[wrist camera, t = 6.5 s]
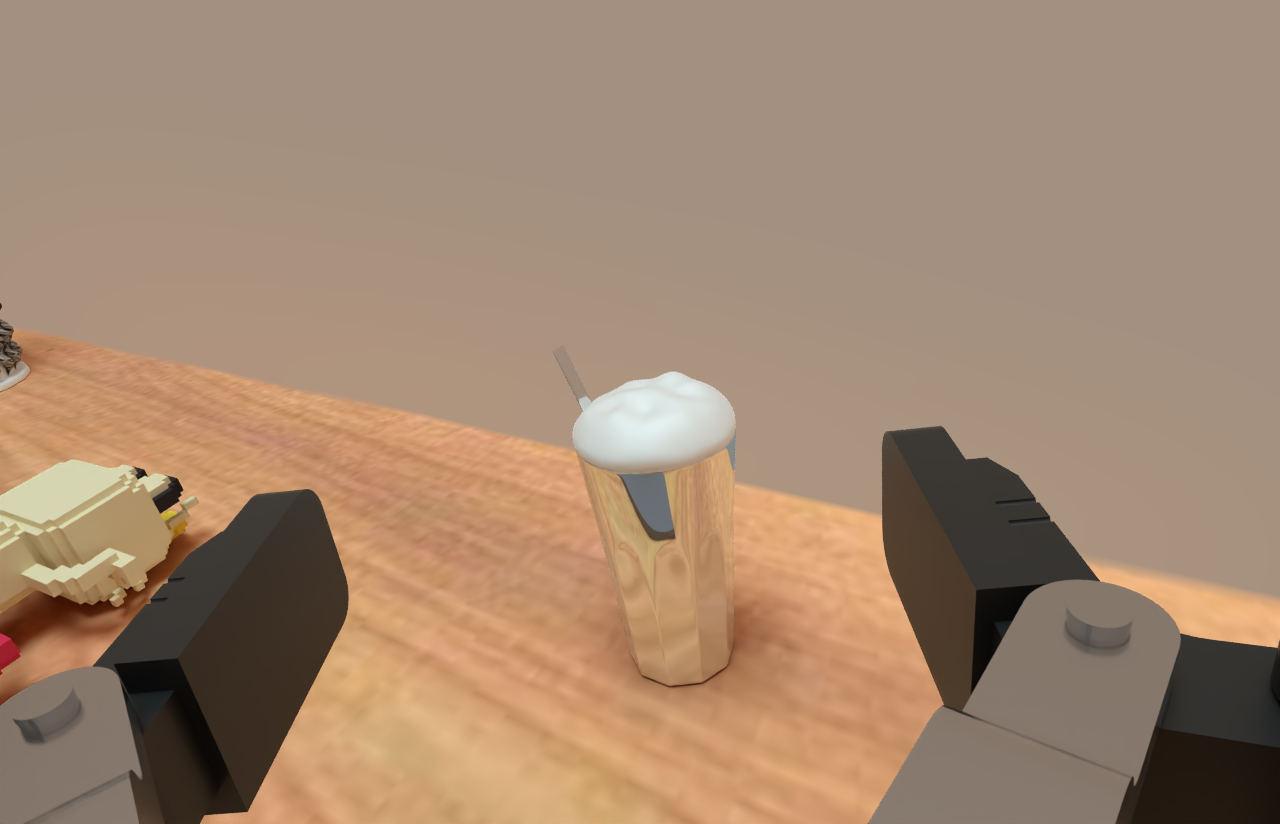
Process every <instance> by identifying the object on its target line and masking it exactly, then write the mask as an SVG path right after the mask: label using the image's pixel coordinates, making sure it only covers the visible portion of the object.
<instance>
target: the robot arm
mask: <svg viewBox="0 0 1280 824" xmlns="http://www.w3.org/2000/svg"><path fill="white" fill-rule="evenodd" d="M882 528H883V542H884V550H885V556H886V560H887V565H888V568H889V572H890V575H891V577H892V580H893V582H894V584H895V587H896V589H897V592H898V594H899V597H900V599H901V601H902V604H903V606H904V609H905V611H906V613H907V616H908V618H909V621H910V623H911V626H912V628H913V630H914V633H915V635H916V638H917V640H918V642H919V645H920V647H921V650H922V652H923V655H924V657H925V659H926V662H927V664H928V667H929V669H930V672H931V674H932V676H933V679H934V681H935V684H936V686H937V688H938V691H939V693H940V696H941V698H942V701H943V703H944V705H943V706H941V707H940V708H939V709H937V711H936V712H935V713H934V714H933V716H932V717H931V719H930V720H929V722H928V723H927V725H926V727H925V728H924V730H923V732H922V733H921V735H920V737H919V739H918V740H917V742H916V744H915V745H914V747H913V749H912V750H911V752H910V754H909V755H908V757H907V759H906V760H905V762H904V764H903V765H902V767H901V769H900V771H899V772H898V774H897V776H896V777H895V779H894V781H893V782H892V784H891V786H890V787H889V789H888V791H887V792H886V794H885V796H884V797H883V799H882V801H881V803H880V804H879V806H878V808H877V809H876V811H875V813H874V814H873V816H872V818H871V819H870V821H869V823H868V824H1280V641H1279V645H1278V648H1274V647H1266V646H1258V645H1250V644H1242V643H1234V642H1226V641H1218V640H1210V639H1204V638H1198V637H1193V636H1189V635H1184V634H1180V632H1179V629H1178V627H1177V625H1176V623H1175V621H1174V620H1173V619H1172V618H1171V616H1170V615H1169V614H1168V613H1167V612H1166V611H1165V610H1164V609H1163V608H1162V607H1160V606H1159V605H1158V604H1156V603H1155V602H1153V601H1152V600H1150V599H1148V598H1147V597H1145V596H1143V595H1141V594H1139V593H1137V592H1134V591H1132V590H1129V589H1127V588H1124V587H1121V586H1117V585H1114V584H1109V583H1105V582H1100V580H1099V579H1098V578H1097V577H1096V575H1095V574H1094V573H1093V571H1092V570H1091V569H1090V568H1089V566H1088V565H1087V564H1086V562H1085V561H1084V560H1083V559H1082V557H1081V556H1080V555H1079V553H1078V552H1077V551H1076V549H1075V548H1074V547H1073V546H1072V544H1071V543H1070V542H1069V540H1068V539H1067V538H1066V537H1065V535H1064V534H1063V533H1062V532H1061V530H1060V529H1059V528H1058V526H1057V525H1056V524H1055V522H1051V521H1050V516H1049V515H1048V513H1047V512H1046V511H1045V510H1044V508H1043V507H1042V506H1041V504H1040V503H1038V502H1037V503H1036V500H1035V497H1034V495H1033V494H1032V493H1031V491H1030V490H1029V489H1028V488H1027V486H1026V485H1025V484H1024V482H1023V481H1022V480H1021V479H1020V477H1019V476H1018V475H1016V474H1015V473H1013V472H1011V471H1009V470H1008V469H1006V468H1004V467H1002V466H1001V465H999V464H997V463H995V462H994V461H992V460H990V459H989V458H977V459H967V460H966V459H965V458H964V456H963V455H962V453H961V452H960V451H959V449H958V448H957V446H956V445H955V443H954V442H953V440H952V439H951V438H950V436H949V435H948V433H947V432H946V430H945V429H944V428H943V427H941V426H937V427H927V428H917V429H907V430H897V431H888V432H885V434H884V437H883V443H882ZM348 598H349V597H348V585H347V580H346V576H345V573H344V570H343V567H342V564H341V561H340V558H339V555H338V552H337V549H336V546H335V543H334V540H333V537H332V534H331V531H330V528H329V525H328V522H327V519H326V516H325V512H324V509H323V506H322V504H321V501H320V499H319V498H318V496H317V495H316V494H315V493H314V492H313V491H312V490H309V489H305V490H295V491H285V492H275V493H265V494H257V495H255V496H253V497H252V498H251V499H250V500H249V501H248V503H247V504H246V505H245V506H244V507H243V509H242V510H241V511H240V512H239V513H238V515H237V516H236V517H235V518H234V519H233V521H232V522H231V523H230V524H229V525H228V527H227V528H226V529H225V530H224V532H220V533H219V534H217V535H216V536H214V537H213V538H212V539H210V540H209V541H207V542H206V543H204V544H203V545H202V546H200V547H199V548H197V549H196V550H194V551H193V552H192V553H190V554H189V555H188V556H187V557H186V558H185V559H184V561H183V562H182V563H181V564H180V565H179V566H178V568H177V569H176V570H175V571H174V572H173V573H172V575H171V576H170V577H169V578H168V583H166V584H163V585H162V586H161V587H160V589H159V590H158V591H157V592H156V593H155V594H154V595H153V597H152V598H151V599H150V600H151V603H150V604H146V605H145V606H144V607H143V608H142V609H141V611H140V612H139V613H138V614H137V615H136V616H135V618H134V619H133V620H132V621H131V622H130V623H129V625H128V626H127V627H126V628H125V629H124V630H123V632H122V633H121V634H120V635H119V636H118V637H117V639H116V640H115V641H114V642H113V643H112V644H111V646H110V647H109V648H108V649H107V650H106V651H105V652H104V654H103V655H102V656H101V657H100V658H99V659H98V661H97V662H96V663H95V664H94V665H93V666H92V667H83V668H77V669H72V670H68V671H65V672H61V673H58V674H55V675H53V676H50V677H48V678H45V679H43V680H41V681H39V682H37V683H35V684H33V685H31V686H29V687H27V688H25V689H24V690H22V691H20V692H19V693H17V694H16V695H14V696H13V697H11V698H9V699H8V700H7V701H6V702H4V703H3V704H2V705H0V824H200V822H201V820H202V819H203V817H204V815H212V814H226V813H239V812H248V810H249V808H250V806H251V804H252V802H253V800H254V798H255V796H256V794H257V792H258V790H259V788H260V786H261V784H262V782H263V780H264V778H265V777H266V775H267V773H268V771H269V769H270V767H271V765H272V763H273V761H274V759H275V757H276V755H277V753H278V751H279V749H280V747H281V745H282V743H283V741H284V739H285V737H286V735H287V733H288V731H289V730H290V728H291V726H292V724H293V722H294V720H295V718H296V716H297V714H298V712H299V710H300V708H301V706H302V704H303V702H304V700H305V698H306V696H307V694H308V692H309V690H310V688H311V686H312V684H313V683H314V681H315V679H316V677H317V675H318V673H319V671H320V669H321V667H322V665H323V663H324V661H325V659H326V657H327V655H328V653H329V651H330V649H331V647H332V645H333V643H334V641H335V639H336V638H337V636H338V634H339V632H340V630H341V628H342V626H343V624H344V621H345V619H346V615H347V610H348Z"/></svg>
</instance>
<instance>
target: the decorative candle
mask: <svg viewBox="0 0 1280 824" xmlns="http://www.w3.org/2000/svg"><path fill="white" fill-rule="evenodd" d="M1 308H2V305H1V303H0V309H1ZM13 332H14V330H13V328H12V326H10V325H9V324H8V323H7V322H5V321H3V320H0V392H1V391H4V390H6V389H8V388H10V387H12V386H14V385H15V384H17V383H19V382H20V381H22V380H24V379H25V378H26V377H27V376H28V374H29V373H30V372H31V371H30V369H29V367H28V366H27V365H26V364H25V363H24V362H19V360H20V358H21V353H22V351H23V350H22V348H21V347H20V346H18V344H17V343H16V342H14V341H11V338H12V334H13Z"/></svg>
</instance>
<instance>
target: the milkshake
mask: <svg viewBox="0 0 1280 824" xmlns="http://www.w3.org/2000/svg"><path fill="white" fill-rule="evenodd" d="M553 353H554V355H555V357H556V359H557V361H558V363H559V365H560V367H561V369H562V371H563V373H564V375H565V377H566V379H567V381H568V383H569V385H570V387H571V389H572V391H573V392H574V395H575V397H576V399H577V401H578V403H579V405H580V407H581V409H582V411H583V413H582V414H581V415H580V416H579V418H578V419H577V421H576V422H575V425H574V427H573V434H572V437H573V444H574V447H575V450H576V454H577V457H578V461H579V464H580V468H581V471H582V475H583V478H584V481H585V485H586V488H587V492H588V495H589V498H590V502H591V505H592V509H593V512H594V515H595V519H596V522H597V525H598V529H599V532H600V536H601V540H602V544H603V548H604V551H605V555H606V559H607V563H608V567H609V571H610V575H611V579H612V583H613V587H614V591H615V594H616V598H617V602H618V606H619V610H620V614H621V618H622V622H623V626H624V630H625V634H626V638H627V641H628V645H629V649H630V652H631V655H632V657H633V659H634V661H635V663H636V664H637V666H638V668H639V670H640V672H641V674H642V675H643V676H645V677H648V678H651V679H653V680H656V681H658V682H661V683H663V684H665V685H668V686H675V685H684V684H693V683H702V682H704V681H705V680H707V679H708V678H710V677H711V676H713V675H714V674H716V673H717V672H719V671H720V670H722V669H723V668H725V667H726V666H727V665H728V661H729V658H730V654H731V651H732V647H733V644H734V520H733V512H734V474H735V441H736V419H735V414H734V411H733V409H732V406H731V405H730V403H729V402H728V400H727V399H726V398H725V397H724V395H723V394H721V393H720V392H719V391H718V390H716V389H715V388H713V387H712V386H710V385H708V384H705V383H703V382H700V381H697V380H694V379H692V378H689V377H687V376H686V375H684V374H681V373H679V372H668V373H665V374H663V375H661V376H659V377H656V378H653V379H647V380H634V381H630V382H627V383H625V384H624V385H622V386H620V387H618V388H617V389H615V390H613V391H611V392H609V393H606V394H604V395H602V396H600V397H598V398H597V399H595V400H594V401H593V402H591V400H590V398H589V396H588V394H587V392H586V390H585V388H584V386H583V384H582V382H581V380H580V378H579V376H578V374H577V372H576V370H575V368H574V366H573V364H572V362H571V360H570V358H569V356H568V354H567V352H566V350H565V348H564V347H563V346H560V347H559V348H557V349H555V350H554V351H553Z"/></svg>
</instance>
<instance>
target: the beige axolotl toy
mask: <svg viewBox="0 0 1280 824" xmlns="http://www.w3.org/2000/svg"><path fill="white" fill-rule="evenodd" d="M182 491H183V488H182V486H181V484H180V482H179V480H178V479H177V478H174V477H170V476H167V475H161V474H157V473H154V474H153V475H151V476H150V477H148V476H147V474H146V472H145V470H144V469H140V468H136V467H133V466H132V467H131V466H127V465H121V466H119V467H118V468H113V467H112V468H110V469H109V468H106V467H102V466H98V465H95V464H91V463H87V462H84V461H77V460H74V459H71V460H69V461H67V462H65V463H63V462H60V463H58V464H56V465H54V466H52V467H51V468H49V469H47V470H45V471H43V472H42V473H40V474H38V475H36V476H35V477H33V478H31V479H29V480H27V481H26V482H24V483H22V484H20V485H18V486H17V487H15V488H13V489H11V490H9V491H8V492H6V493H4V494H2V495H0V614H1V613H2V612H4V611H5V610H7V609H8V608H10V607H12V606H13V605H15V604H16V603H18V602H19V601H21V600H22V599H24V598H25V597H27V596H28V595H30V594H31V593H33V592H34V591H36V590H39V591H41V592H43V593H46V594H48V595H50V596H53V597H56V596H58V595H60V596H62V597H65V598H67V599H69V600H72V601H74V602H76V603H79V604H83V603H84V602H86V603H88V604H91V605H93V604H95V603H96V602H98V601H99V600H101V601H103V602H104V601H106V600H107V599H109V598H110V597H112V598H110V599H109V600H110V602H111V604H112V605H113V606H115V607H118V606H120V605H121V604H122V603H124V601H123V599H122V598H124V597H125V596H127V594H126V592H125V591H124V589H123V588H125V589H128V588H130V587H131V586H132V587H133V589H134V590H135V591H138V592H139V591H140V590H142V589H143V588H145V587H146V586H145V585H144V583H145V582H146V581H148V579H147V575H146V572H147V571H148V570H150V569H151V568H153V567H154V566H155V565H157V564H158V563H160V562H161V561H163V560H164V559H165V558H166V557H165V555H166V554H167V553H168V550H167V549H168V548H169V546H168V545H169V544H170V543H171V542H172V541H171V540H172V539H174V538H175V537H177V536H178V535H180V534H181V533H183V532H184V531H185V528H184V527H185V526H187V523H186V521H185V519H187V518H188V517H190V515H189V513H188V512H187V510H189V509H190V508H192V507H193V506H195V505H196V504H198V503H199V502H198V500H197V498H196V497H194V496H191V497H190V498H188V499H187V500H185V501H184V502H182V503H180V505H181V507H182V509H183V510H181V511H180V512H178V513H177V512H174V511H170V510H169V511H168V512H166V513H165V514H161V513H162V512H163V511H165V510H167V509H168V508H170V507H171V506H173V505H174V504H176V503H177V502H179V499H178V498H179V497H180V496H182V495H181V493H180V492H182ZM19 653H20V651H19V649H18V648H17V646H16V645H15V644H14V642H13V641H12V639H11V638H9V637H7V636H5V635H3V634H1V633H0V670H2V669H3V668H5V667H6V666H8V665H9V664H10V663H12V662H13V661H15V660H16V659H17V658H19V657H20V655H19ZM1 674H2V672H1V671H0V675H1Z"/></svg>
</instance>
